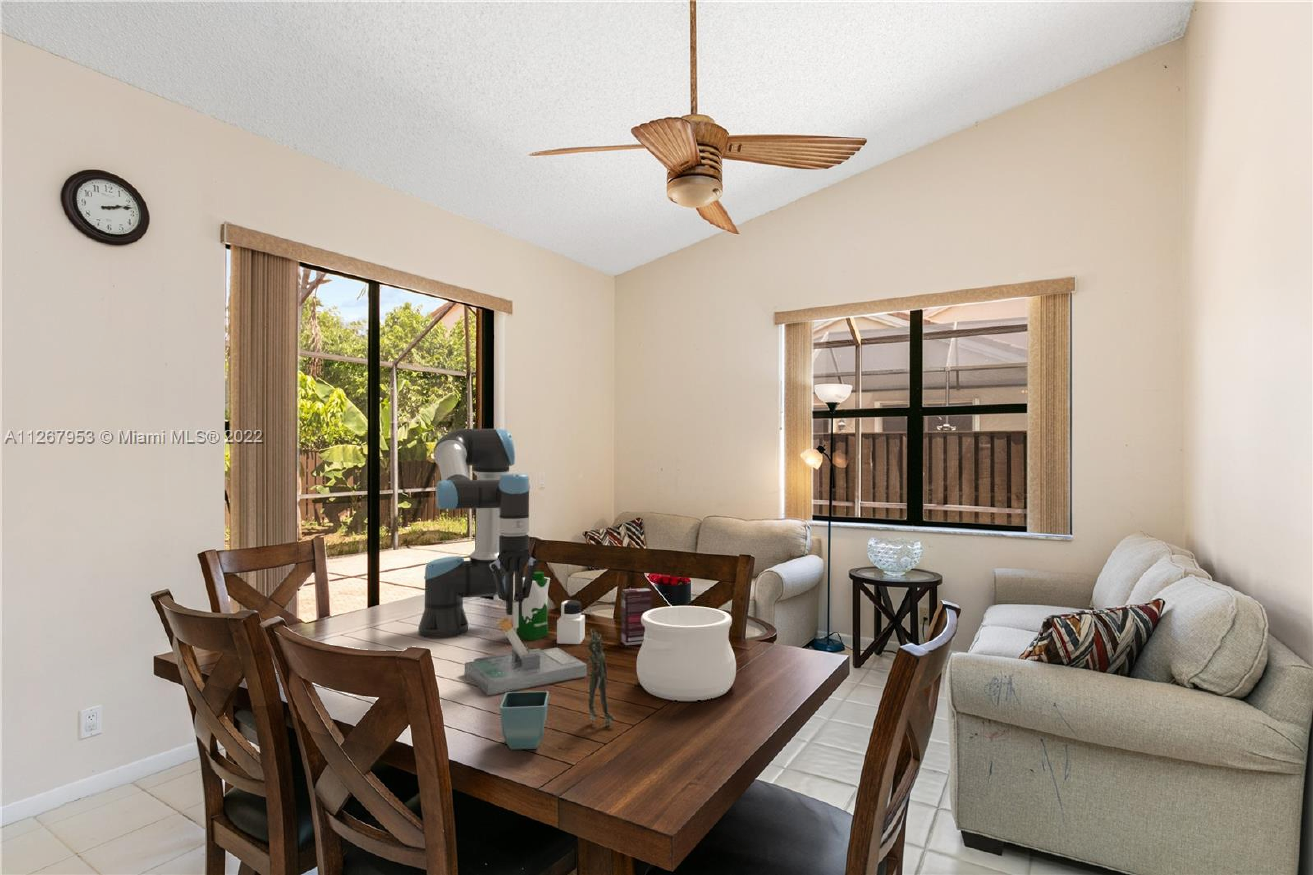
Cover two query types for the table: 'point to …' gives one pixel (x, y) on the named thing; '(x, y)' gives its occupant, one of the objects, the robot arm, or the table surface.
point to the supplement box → (634, 614)
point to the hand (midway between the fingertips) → (513, 626)
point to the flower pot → (523, 718)
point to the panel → (524, 670)
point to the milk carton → (535, 609)
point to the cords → (502, 655)
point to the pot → (686, 653)
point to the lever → (512, 637)
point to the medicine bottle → (571, 623)
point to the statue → (598, 676)
